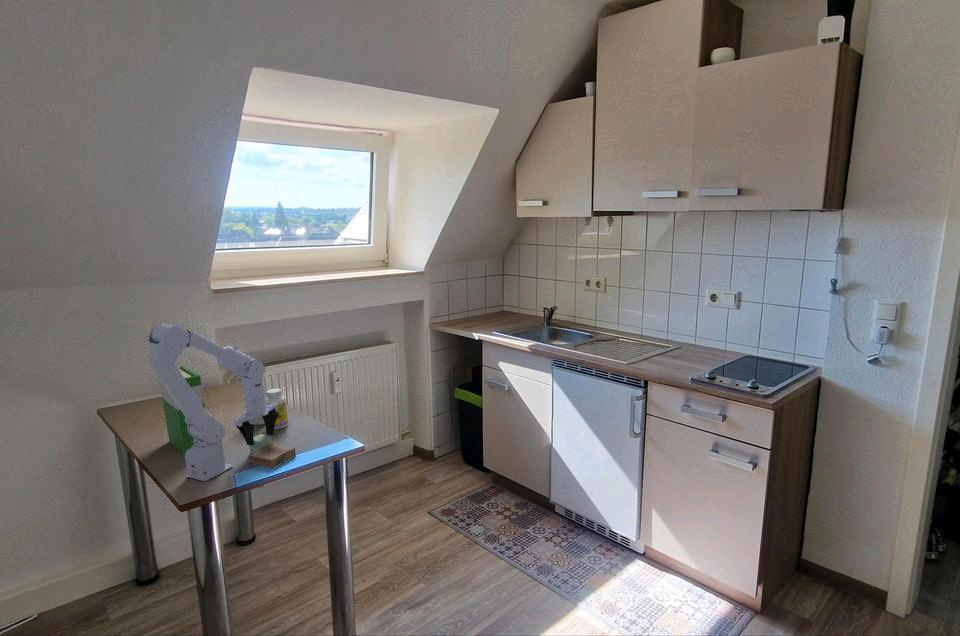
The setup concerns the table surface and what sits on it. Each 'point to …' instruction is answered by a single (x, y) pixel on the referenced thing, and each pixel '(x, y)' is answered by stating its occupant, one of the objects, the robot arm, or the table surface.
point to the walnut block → (272, 455)
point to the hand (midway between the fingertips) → (260, 439)
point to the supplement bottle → (276, 397)
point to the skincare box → (259, 419)
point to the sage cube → (260, 442)
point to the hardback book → (180, 412)
